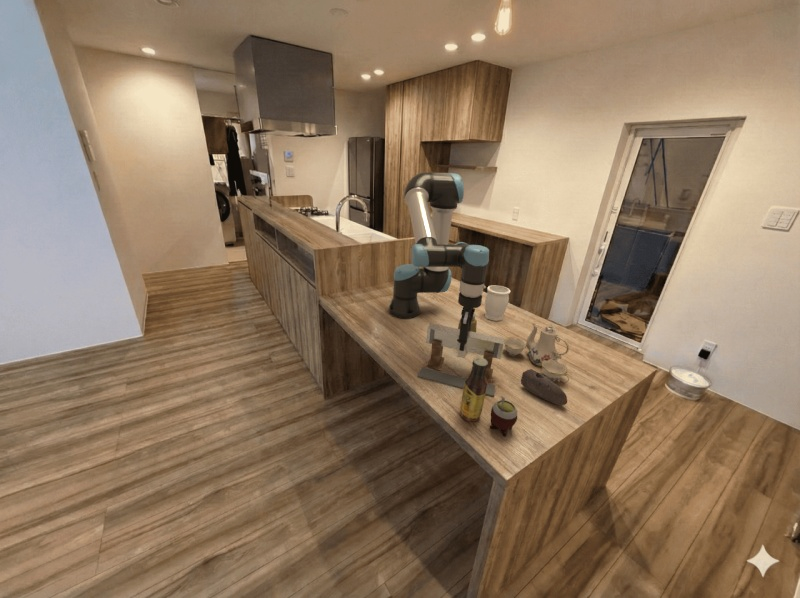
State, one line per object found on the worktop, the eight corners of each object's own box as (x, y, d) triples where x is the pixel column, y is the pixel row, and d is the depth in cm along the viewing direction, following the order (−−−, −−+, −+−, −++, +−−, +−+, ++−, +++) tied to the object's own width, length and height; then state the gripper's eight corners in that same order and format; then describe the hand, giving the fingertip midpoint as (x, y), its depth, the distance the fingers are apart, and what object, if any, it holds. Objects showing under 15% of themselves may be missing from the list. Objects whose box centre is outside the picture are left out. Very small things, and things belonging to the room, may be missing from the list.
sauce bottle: (457, 407, 99) (465, 353, 91) (476, 407, 99) (486, 353, 91) (462, 424, 93) (472, 367, 85) (483, 423, 93) (495, 366, 85)
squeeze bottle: (475, 342, 134) (482, 303, 127) (473, 352, 127) (480, 312, 120) (456, 338, 137) (461, 300, 129) (453, 348, 130) (458, 308, 122)
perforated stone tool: (568, 406, 102) (574, 388, 99) (560, 413, 99) (566, 395, 96) (526, 381, 112) (530, 365, 109) (517, 387, 109) (521, 370, 106)
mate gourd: (508, 418, 95) (518, 377, 89) (518, 440, 88) (529, 397, 82) (483, 418, 95) (492, 377, 89) (491, 440, 88) (501, 397, 82)
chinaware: (493, 355, 129) (497, 320, 122) (518, 340, 138) (524, 306, 130) (559, 394, 109) (569, 355, 101) (584, 374, 118) (595, 336, 110)
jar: (502, 313, 161) (508, 285, 155) (506, 323, 152) (512, 294, 146) (481, 311, 162) (485, 284, 156) (484, 321, 153) (489, 292, 147)
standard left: (426, 366, 117) (429, 341, 113) (431, 356, 123) (434, 332, 119) (440, 369, 116) (443, 344, 112) (444, 359, 122) (447, 335, 118)
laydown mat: (417, 377, 111) (417, 375, 111) (421, 368, 116) (421, 366, 116) (493, 397, 104) (494, 395, 104) (495, 386, 109) (495, 385, 108)
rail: (425, 342, 115) (427, 327, 113) (428, 337, 119) (430, 323, 117) (500, 359, 108) (503, 344, 105) (501, 353, 111) (504, 338, 109)
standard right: (476, 378, 112) (481, 352, 108) (479, 367, 118) (483, 342, 114) (491, 382, 111) (496, 356, 106) (492, 371, 117) (497, 345, 112)
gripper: (479, 305, 96) (468, 369, 106) (485, 286, 111) (475, 344, 121) (454, 300, 99) (446, 364, 108) (463, 282, 113) (456, 339, 123)
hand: (461, 353), depth 114 cm, fingers closed on rail, 4 cm apart
